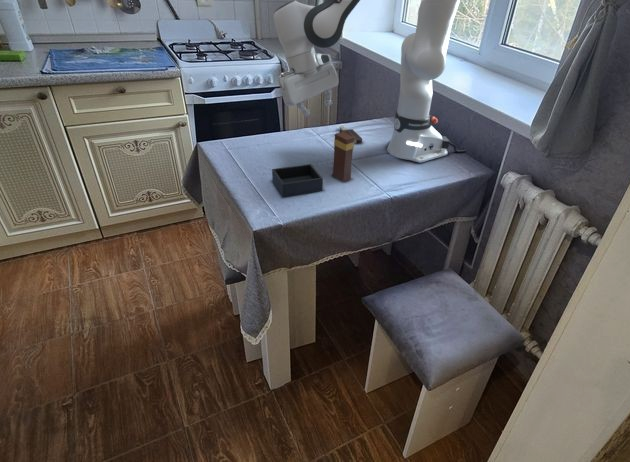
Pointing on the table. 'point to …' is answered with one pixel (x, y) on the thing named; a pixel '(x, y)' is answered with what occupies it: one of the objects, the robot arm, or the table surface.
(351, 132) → the ice cream bar
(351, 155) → the chocolate box
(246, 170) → the table surface
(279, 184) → the tray
